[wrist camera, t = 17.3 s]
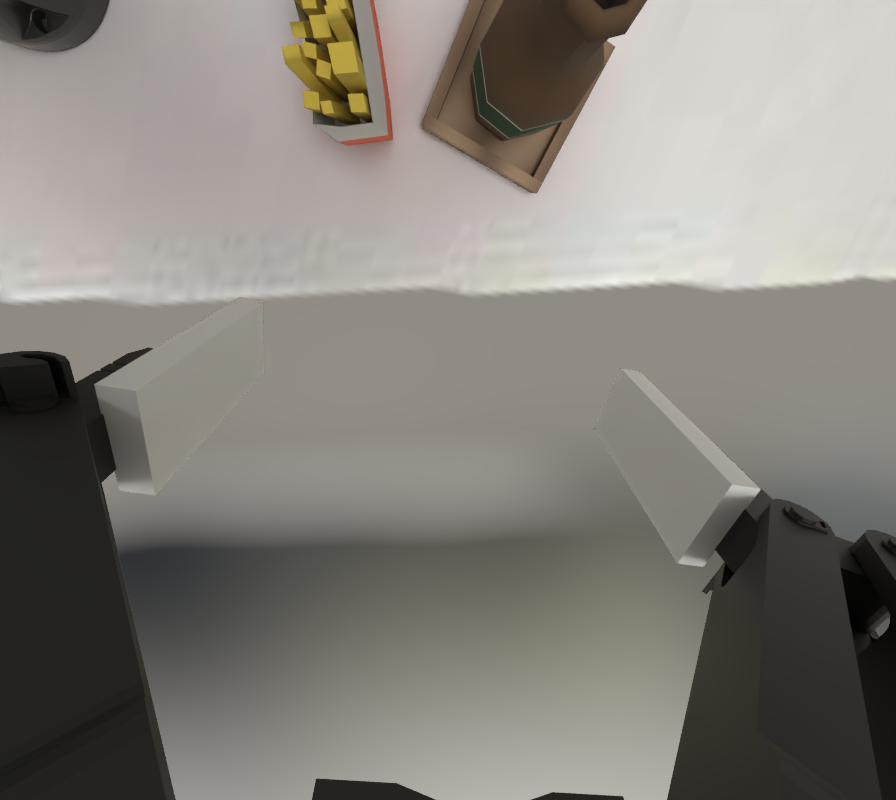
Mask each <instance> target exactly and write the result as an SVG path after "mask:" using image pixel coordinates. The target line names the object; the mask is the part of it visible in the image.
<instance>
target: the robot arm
mask: <svg viewBox="0 0 896 800" xmlns="http://www.w3.org/2000/svg"><path fill="white" fill-rule="evenodd" d="M107 3H108V0H0V40H3V41H6V42H9V43H13V44H16V45H19V46H22V47H25V48H29V49H33V50H38V51H61V50H66V49H69V48H72V47H74V46H76V45H78V44H80V43H82V42H83V41H85V40H86V39H87V38H88V37H89V36H90V35H91V34H92V33H93V32H94V31H95V29H96V28H97V26H98V25H99V23H100V21H101V19H102V17H103V15H104V12H105V10H106V6H107ZM263 324H264V323H263V301H259V300H253V299H248V298H243V297H239V298H237V299H236V300H234V301H232V302H231V303H229V304H227V305H226V306H224V307H222V308H221V309H219V310H218V311H216V312H214V313H212V314H211V315H209V316H208V317H206V318H204V319H202V320H201V321H199V322H197V323H196V324H194V325H193V326H191V327H189V328H187V329H186V330H184V331H182V332H181V333H179V334H177V335H176V336H174V337H172V338H171V339H169V340H168V341H166V342H164V343H162V344H161V345H159V346H158V347H156V348H154V349H153V348H146V349H142V350H139V351H135V352H131V353H128V354H126V355H124V356H123V357H121V358H119V359H117V360H116V361H114V362H113V364H108V365H107V366H105V367H103V368H101V370H100V371H96V372H94V373H92V374H91V375H89V376H87V377H85V378H84V379H82V380H80V381H78V382H77V383H75V381H74V378H73V374H72V370H71V367H70V363H69V361H68V360H67V358H66V357H65V356H62V355H59V354H56V353H51V352H42V351H21V352H13V353H5V354H0V800H176V799H175V795H174V791H173V787H172V783H171V778H170V774H169V770H168V766H167V762H166V757H165V753H164V748H163V744H162V740H161V736H160V732H159V727H158V723H157V718H156V714H155V710H154V705H153V701H152V697H151V693H150V688H149V684H148V680H147V675H146V671H145V667H144V662H143V658H142V654H141V650H140V646H139V641H138V637H137V632H136V628H135V624H134V620H133V615H132V611H131V607H130V602H129V598H128V594H127V590H126V586H125V581H124V577H123V572H122V568H121V564H120V559H119V555H118V551H117V547H116V542H115V538H114V534H113V529H112V525H111V521H110V517H109V512H108V508H107V504H106V499H105V495H104V492H103V488H102V484H101V482H103V481H104V480H105V479H106V478H107V477H108V476H109V475H110V474H111V473H113V472H114V471H115V474H116V478H117V481H118V486H119V490H120V491H126V492H133V493H141V494H149V495H156V494H157V493H158V492H159V490H160V489H161V488H162V487H163V486H164V485H165V484H166V483H167V482H168V481H169V479H170V478H171V477H172V476H173V475H174V474H175V473H176V471H177V470H178V469H179V468H180V467H181V466H182V465H183V464H184V463H185V461H186V460H187V459H188V458H189V457H190V456H191V455H192V454H193V452H194V451H195V450H196V449H197V448H198V447H199V446H200V445H201V444H202V442H203V441H204V440H205V439H206V438H207V437H208V436H209V435H210V433H211V432H212V431H213V430H214V429H215V428H216V427H217V426H218V425H219V423H220V422H221V421H222V420H223V419H224V418H225V417H226V416H227V414H228V413H229V412H230V411H231V410H232V409H233V408H234V407H235V405H236V404H237V403H238V402H239V401H240V400H241V399H242V397H243V396H244V395H245V394H246V393H247V392H248V391H249V390H250V389H251V387H252V386H253V385H254V384H255V383H256V382H257V381H258V380H259V379H260V377H261V376H262V375H263V374H264V326H263ZM594 429H595V431H596V432H597V434H598V436H599V437H600V439H601V440H602V442H603V444H604V445H605V447H606V449H607V450H608V452H609V454H610V455H611V457H612V458H613V460H614V461H615V463H616V465H617V466H618V468H619V470H620V471H621V473H622V474H623V476H624V478H625V479H626V481H627V483H628V484H629V486H630V488H631V489H632V491H633V492H634V494H635V496H636V497H637V499H638V500H639V502H640V504H641V505H642V507H643V508H644V510H645V512H646V513H647V515H648V516H649V518H650V520H651V521H652V523H653V525H654V526H655V528H656V529H657V531H658V533H659V534H660V536H661V538H662V539H663V541H664V542H665V544H666V546H667V547H668V549H669V550H670V552H671V554H672V555H673V557H674V559H675V560H676V562H677V563H678V564H686V565H694V566H702V567H704V565H705V564H706V562H707V561H708V560H709V559H710V557H711V556H712V555H713V553H714V552H715V551H717V552H718V554H719V555H720V556H721V557H722V559H723V560H724V563H723V565H722V566H721V567H720V569H719V570H718V571H717V573H716V574H715V575H714V576H713V578H712V579H711V580H710V582H709V583H708V584H707V586H706V587H705V588H704V590H703V591H702V592H704V593H705V594H707V593H708V592H709V591H710V590H713V591H712V596H711V600H710V605H709V610H708V614H707V619H706V623H705V628H704V632H703V637H702V642H701V646H700V651H699V656H698V660H697V665H696V669H695V674H694V679H693V683H692V688H691V692H690V698H689V702H688V706H687V711H686V715H685V720H684V725H683V729H682V734H681V738H680V743H679V748H678V752H677V757H676V761H675V766H674V771H673V775H672V780H671V784H670V789H669V794H668V798H667V800H896V538H895V537H893V536H891V535H889V534H886V533H883V532H879V531H876V530H867V531H866V532H865V533H864V534H863V535H862V536H861V537H860V538H859V539H858V540H857V541H856V542H855V543H853V542H850V541H847V540H844V539H841V538H838V537H835V535H834V533H833V531H832V529H831V527H830V526H829V525H828V524H827V523H826V522H824V521H823V520H822V519H821V518H819V517H818V516H817V515H815V514H814V513H812V512H811V511H809V510H808V509H806V508H804V507H802V506H800V505H797V504H795V503H792V502H790V501H786V500H781V499H774V500H773V499H771V498H770V497H769V496H768V495H767V494H766V493H765V492H764V491H763V490H762V489H761V488H760V487H759V486H758V485H757V484H756V483H755V482H754V481H753V480H752V479H751V478H750V477H749V476H748V475H747V474H745V473H744V472H743V471H742V470H741V469H740V468H739V467H738V466H737V465H736V464H735V463H734V462H733V461H732V460H731V459H730V458H729V457H728V456H727V455H726V454H725V453H724V452H723V451H721V450H720V449H719V448H718V447H717V446H716V445H715V444H714V443H713V442H712V441H711V440H710V439H709V438H708V437H707V436H705V435H704V434H703V433H702V432H701V431H700V430H699V429H698V428H697V427H696V426H695V425H694V424H693V423H692V422H691V421H690V420H689V419H688V418H687V417H686V416H685V415H684V414H683V413H682V412H681V411H680V410H679V409H678V408H677V407H676V406H675V405H673V404H672V403H671V402H670V401H669V400H668V399H667V398H666V397H665V396H664V395H663V394H662V393H661V392H660V391H659V390H658V389H657V388H656V387H655V386H654V385H653V384H652V383H651V382H649V380H648V379H646V378H645V377H644V376H643V375H642V374H641V373H640V372H639V371H634V370H628V369H623V368H620V371H619V373H618V375H617V378H616V380H615V382H614V384H613V387H612V389H611V391H610V393H609V395H608V398H607V400H606V402H605V404H604V407H603V409H602V411H601V414H600V416H599V418H598V420H597V422H596V425H595V427H594ZM889 617H890V624H889V627H888V629H887V630H886V632H885V633H884V634H883V635H881V636H880V637H879V636H878V634H877V632H876V631H875V629H876V628H877V627H878V626H879V625H881V624H882V623H883V622H884V621H885V620H886V619H888V618H889ZM312 800H435V799H432V798H430V797H428V796H425V795H423V794H421V793H418V792H416V791H413V790H411V789H409V788H406V787H404V786H401V785H399V784H397V783H381V782H365V781H363V782H362V781H348V780H330V779H316V783H315V788H314V792H313V797H312ZM532 800H624V798H623V797H622V796H605V795H588V794H571V793H554V792H553V793H550V794H547V795H544V796H541V797H538V798H535V799H532Z"/></svg>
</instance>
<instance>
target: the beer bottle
mask: <svg viewBox="0 0 896 800" xmlns="http://www.w3.org/2000/svg"><path fill="white" fill-rule="evenodd" d="M646 1H647V0H503V2H502V4H501V6H500V8H499V10H498V12H497V14H496V16H495V17H494V19H493V21H492V23H491V25H490V27H489V29H488V31H487V33H486V34H485V36H484V38H483V40H482V42H481V44H480V46H479V50H478V53H477V56H476V59H475V62H474V66H473V69H472V72H471V75H470V83H471V90H472V97H473V103H474V110H475V117H476V121H478V122H479V123H480V124H481V125H483V126H484V127H485V128H486V129H487V130H489V131H490V132H491V133H492V134H494V135H495V136H496V137H497V138H499V139H500V140H501V141H506V140H510V139H514V138H518V137H522V136H526V135H530V134H534V133H538V132H540V131H542V130H544V129H547V128H549V127H551V126H553V125H555V124H558V123H560V122H562V121H564V120H566V119H567V118H568V117H570V116H571V115H572V114H573V112H574V111H575V109H576V108H577V106H578V105H579V103H580V102H581V100H582V99H583V97H584V96H585V94H586V93H587V91H588V89H589V88H590V86H591V85H592V83H593V82H594V80H595V79H596V77H597V76H598V74H599V73H600V71H601V70H602V68H603V66H604V43H605V42H606V41H607V40H608V38H611V37H615V36H619V35H623V34H625V33H626V32H627V30H628V29H629V27H630V26H631V24H632V23H633V21H634V20H635V18H636V16H637V15H638V13H639V12H640V10H641V9H642V7H643V6H644V4H645V3H646Z"/></svg>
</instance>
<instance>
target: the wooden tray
mask: <svg viewBox="0 0 896 800" xmlns="http://www.w3.org/2000/svg"><path fill="white" fill-rule="evenodd" d="M502 2H503V0H470V2H469V4H468V7H467V9H466V12H465V15H464V17H463V20H462V22H461V25H460V27H459V30H458V33H457V35H456V38H455V40H454V43H453V45H452V48H451V51H450V53H449V56H448V58H447V61H446V63H445V66H444V69H443V71H442V74H441V76H440V79H439V81H438V84H437V87H436V89H435V92H434V94H433V97H432V99H431V102H430V105H429V107H428V110H427V112H426V115H425V117H424V120H423V123H422V128H423V129H425V130H426V131H428V132H430V133H431V134H433V135H435V136H436V137H438V138H440V139H441V140H443V141H445V142H447V143H448V144H450V145H452V146H453V147H455V148H457V149H458V150H460V151H462V152H463V153H465V154H467V155H469V156H470V157H472V158H474V159H475V160H477V161H479V162H480V163H482V164H484V165H485V166H487V167H489V168H491V169H492V170H494V171H496V172H497V173H499V174H501V175H502V176H504V177H506V178H508V179H509V180H511V181H513V182H514V183H516V184H518V185H519V186H521V187H523V188H524V189H526V190H528V191H530V192H531V193H537V192H538V190H539V188H540V186H541V185H542V183H543V181H544V179H545V177H546V175H547V173H548V171H549V170H550V168H551V166H552V164H553V162H554V160H555V158H556V157H557V155H558V153H559V151H560V149H561V147H562V145H563V143H564V142H565V140H566V138H567V136H568V134H569V132H570V130H571V129H572V127H573V125H574V123H575V121H576V119H577V117H578V115H579V114H580V112H581V110H582V108H583V106H584V104H585V102H586V101H587V99H588V97H589V95H590V93H591V91H592V89H593V88H594V86H595V84H596V82H597V80H598V78H599V76H600V74H601V73H602V71H603V69H604V67H605V65H606V63H607V61H608V60H609V58H610V56H611V54H612V52H613V50H614V48H615V46H614V45H612V44H611V43H609V42H608V41H606V42H605V43H604V66H603V68H602V70H601V71H600V73H599V74H598V76H597V77H596V79H595V80H594V82H593V83H592V85H591V86H590V88H589V89H588V91H587V93H586V94H585V96H584V97H583V99H582V100H581V102H580V103H579V105H578V106H577V108H576V109H575V111H574V112H573V114H572V115H571V116H570V117H568V118H567V119H566V120H564V121H562V122H560V123H558V124H555V125H553V126H551V127H549V128H547V129H544V130H542V131H540V132H538V133H534V134H530V135H526V136H522V137H518V138H514V139H510V140H506V141H501V140H500V139H499V138H497V137H496V136H495V135H494V134H492V133H491V132H490V131H489V130H487V129H486V128H485V127H484V126H483V125H481V124H480V123H479V122H478V121H476V117H475V110H474V103H473V97H472V90H471V83H470V75H471V72H472V69H473V66H474V62H475V59H476V56H477V53H478V50H479V46H480V44H481V42H482V40H483V38H484V36H485V34H486V33H487V31H488V29H489V27H490V25H491V23H492V21H493V19H494V17H495V16H496V14H497V12H498V10H499V8H500V6H501V4H502Z"/></svg>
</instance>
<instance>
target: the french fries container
mask: <svg viewBox="0 0 896 800" xmlns="http://www.w3.org/2000/svg"><path fill="white" fill-rule="evenodd" d="M294 1H295V4H296V8H297V11H298V15H299V19H300V22H290V24H291V28H292V32H293V35H294V38H305V40H306V42H304V41H302V47H303V49H302V48H301V47H300V46H299V44H294V45H288V46H283V47H282V51H283V55H284V59H285V63H286V65H287V66H288V67H289V68H290V69H291V70H292V71H293V72H294V73H295V74H296V75H297V76H298V77H299V78H300V79H301V80H302V82H303V83H304V84H305V85H306V86H307V87H308V88H309V89H310V90H311V91H307V90H303V101H304V108H307V109H310V110H312V111H313V124H314V125H315V126H317V127H318V128H320V129H321V130H322V131H324V132H325V133H326V134H328V135H329V136H331V137H332V138H333V139H335V140H336V141H338V142H340V143H343V144H345V145H353V144H361V143H369V142H376V141H384V140H391V139H393V134H392V121H391V109H390V101H389V94H388V87H387V80H386V74H385V67H384V60H383V53H382V47H381V40H380V33H379V27H378V22H377V17H376V11H375V6H374V1H373V0H294Z"/></svg>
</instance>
